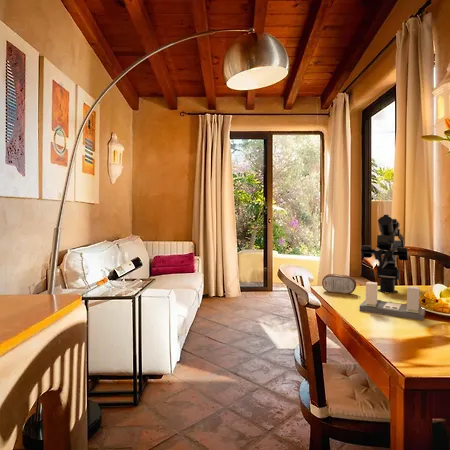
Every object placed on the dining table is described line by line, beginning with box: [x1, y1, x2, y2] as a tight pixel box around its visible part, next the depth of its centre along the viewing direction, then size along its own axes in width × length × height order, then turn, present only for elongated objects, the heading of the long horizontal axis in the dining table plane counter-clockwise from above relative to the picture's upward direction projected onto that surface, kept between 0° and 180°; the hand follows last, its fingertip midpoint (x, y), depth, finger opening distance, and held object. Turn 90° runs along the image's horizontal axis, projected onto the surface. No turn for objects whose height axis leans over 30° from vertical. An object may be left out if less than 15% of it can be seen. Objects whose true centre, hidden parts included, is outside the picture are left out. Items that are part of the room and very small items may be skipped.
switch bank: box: [359, 299, 426, 322], centre depth 131 cm, size 12×21×2 cm, turn 56°
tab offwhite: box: [365, 281, 378, 305], centre depth 133 cm, size 3×4×8 cm
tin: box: [321, 273, 357, 295], centre depth 161 cm, size 15×3×8 cm, turn 65°
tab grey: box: [406, 285, 420, 311], centre depth 125 cm, size 3×4×8 cm
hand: (381, 267), depth 149 cm, fingers closed
